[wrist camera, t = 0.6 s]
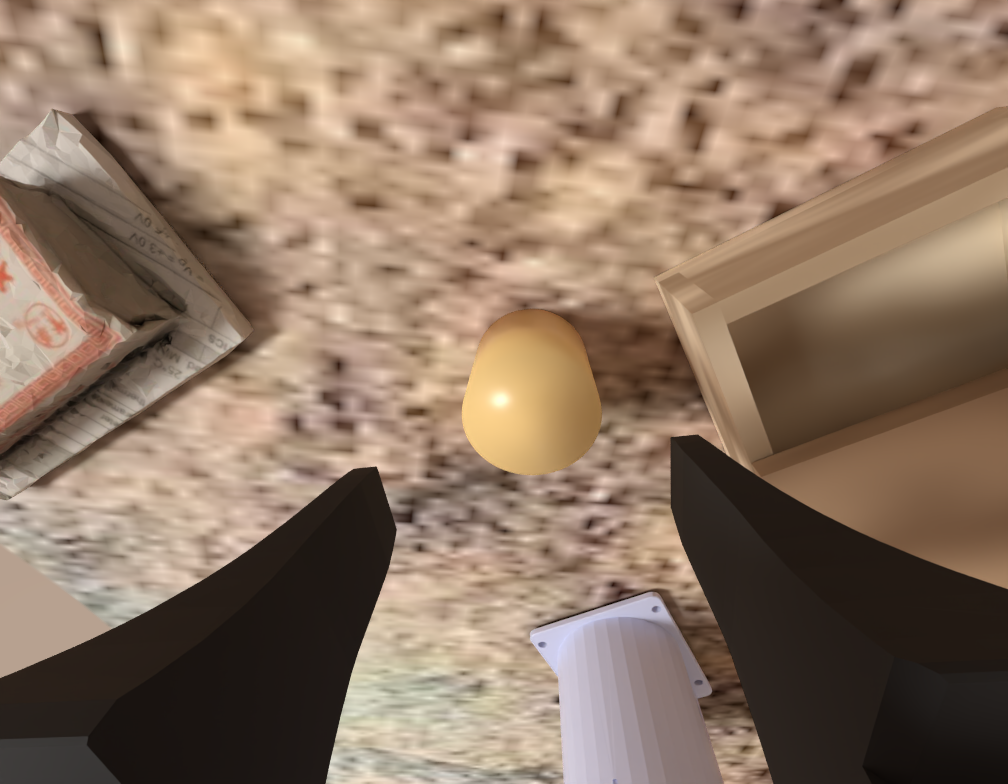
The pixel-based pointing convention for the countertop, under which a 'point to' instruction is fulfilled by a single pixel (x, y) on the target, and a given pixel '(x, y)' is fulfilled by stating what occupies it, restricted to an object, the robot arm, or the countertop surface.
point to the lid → (916, 477)
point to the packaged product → (91, 302)
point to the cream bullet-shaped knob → (531, 395)
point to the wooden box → (853, 297)
